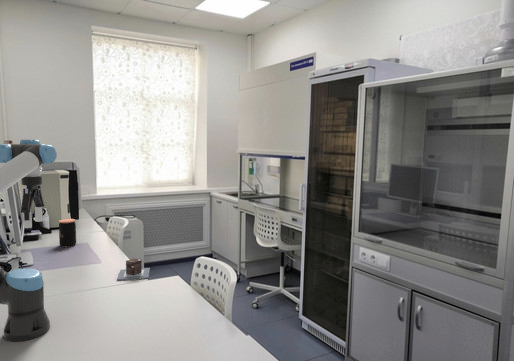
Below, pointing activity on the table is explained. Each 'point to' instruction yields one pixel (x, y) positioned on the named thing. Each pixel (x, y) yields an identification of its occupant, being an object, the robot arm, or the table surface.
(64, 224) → the coffee jar
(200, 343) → the table surface
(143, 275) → the mat
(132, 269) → the box
